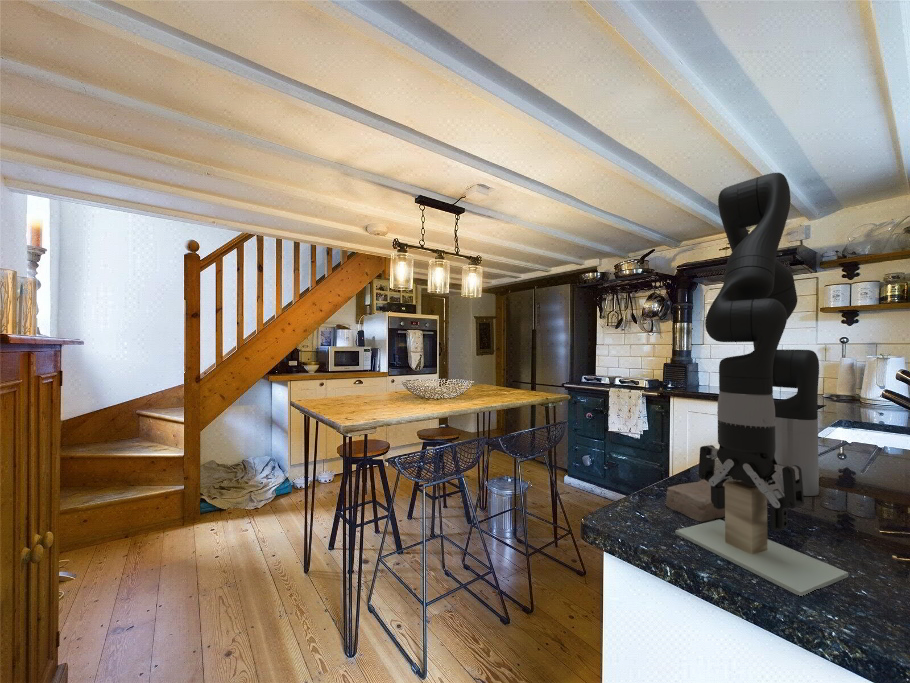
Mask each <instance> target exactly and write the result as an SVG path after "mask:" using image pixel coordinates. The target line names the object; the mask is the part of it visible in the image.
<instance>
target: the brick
mask: <svg viewBox="0 0 910 683" xmlns="http://www.w3.org/2000/svg"><path fill="white" fill-rule="evenodd" d="M726 482H730V481H729V480H727V481H726ZM723 486H725V483H724V484H723ZM666 489H667V491H666V496H665V498H666V500H665V505H666V507H667V508H669V509H671V510H673V511H675V512H678V513H680V514H682V515H685V516H687V517H688V518H690V519H692V520H695V521H697V522H699V523H706V522H711V521H714V520H715V519H721V518H725V508H723V509H717V508H714V506H713V504H712V502H711V485H710V484H709V482H707V481H706V480H705V479H700V480H699V481H697V482H695V481H694V482H688V483H681V484H680V483H679V484H677V485H672V486H668V487H667V488H666Z"/></svg>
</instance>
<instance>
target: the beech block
mask: <svg viewBox="0 0 910 683" xmlns="http://www.w3.org/2000/svg"><path fill="white" fill-rule="evenodd" d="M724 519H725V520H724V521H725V543H728V544H730V545H732V546H734V547H736V548H738V549H740V550H743V551H745V552H747V553H749V554H751V555H753V554H756V553H759V552H763V551H766V550H768V549H767V539H768V499H767V497H766V496H765V494H763V493H762V492H760V490H759V489H758V487H757V486H756V485H751V484H747V483H746V482H744V481H740V480H732V481H730V482H725V517H724Z"/></svg>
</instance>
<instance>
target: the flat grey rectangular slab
mask: <svg viewBox="0 0 910 683" xmlns="http://www.w3.org/2000/svg"><path fill="white" fill-rule="evenodd" d="M675 535H677V536H679V537H681V538H683V539H685V540H687V541H688V542H691V543H693V544H695V545H697V546H699V547H701V548H703V549H705V550H706V551H708V552H709V551H710V552H711V553H713V554H714V555H717V556H719V557H721V558H723V559H725V560H727V561H729V562H731V563H733V564H735V565H736V566H739V567H741V568H742V569H744V570H747V571H748V572H751V573H753V574H755V575H757V576H759V577H760V578H762V579H765V580H767V581H769V582H770V583H772V584H774V585H776V586H779V587H780V588H782V589H785V590H786V591H789V592H790V593H793V594H795V595H796V596H798V595H799V597H800V596H802V597H804V596H807V595H808V593H809V594H811V593H810V592H812V591H814V590H816V589H819V590H820V588H821V589H823V588H826V587H827V586H830V585H833V584H835V583H837V582H840V581H842V580H845V579H846V578H849V572H848V571H845V570H843V569H840V568H839V567H838V568H837V567H836V566H833V565H831V564H828V563H826V562H824V561H822V560H819V559H817V558H814V557H812V556H809V555H807V554H804V553H802V552H799V551H797V550H794V549H793V548H791V547H788V546H785V545H783V544H780V543H778V542H775V541H773V540H772V539H768V538H767V549H768V550H766V551H763V552H759V553H756V554H753V555H751V554H749V553H747V552H745V551H743V550H740V549H738V548H736V547H734V546H732V545H730V544H728V543H725V520H722V519H721V518H717V519H716V520H715V519H714V520H710V521H706V522H702V523H700V524H696V525H691V526H687V527H684V528H680V529H676V530H675ZM816 591H817V590H816ZM814 592H815V591H814ZM812 593H813V592H812ZM806 594H807V595H806ZM803 595H804V596H803Z"/></svg>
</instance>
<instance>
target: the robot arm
mask: <svg viewBox="0 0 910 683" xmlns="http://www.w3.org/2000/svg"><path fill="white" fill-rule="evenodd" d="M787 179H788V178H787V177H786V175H784V174H783V173H781V172H770V173H766V174H764V175H760V176H757V177H754V178H751V179H750V178H749V179H747V180H744V181H742V182H741V181H740V182H739V183H735V184H732V185H729V186H726V187H725V188H723V189H722V190H720V192H719V194H718V199H717V205H718V212H719V215H720V217H719V218H720V219H721V223H722V227H723V229H724V232H725V235H726V238H727V240H728V241H727V242H728V244H729V247H730V250H731V253H730V254H729V257H728V259H727V262H726V265H725V273H724V279H723V283H722V286H721V289H720V290H719V292H718V294H717V295H716V297H715V299H714V300H713V302H712V303H711V305H710V306H709V308H708V310H707V313H706V317H705V319H704V320H705V322H704V325H705V330H706V333H707V334H708V335H709V337H710V338H711V339H712V340H714V341H716V342H718V343H719V342H720V343H752V345H753V350H752V351H751V352H749V353H745V354H741V355H734V356H728V357H724V358H722V359H720V362H719V364H718V390H719V392H718V399H717V412H716V413H717V444H718V446H719V447H718V448H716V447H715V445H712V444H710V445H709V444H708V445H707V444H706V445H703V446H700V448H699V460H698V477H699V479H700V480H704V479H705V480H706V481H707V482H709V484H710V485H711V502H712V504H713V506H714V508H717V509H723V508H725V486H723V484H724V483H725V482H726V481H729V479H732V480H733V481H735V480H740V481H744V482H746V483H747V484H751V485H756V486H757V487H758V489H759V490H760V492H762V493H763V494H765V496H766V497H767V501H769V503H770V504H771V505H770V506H769V513H770V515H769V521H770V522H769V528H770V530H771V531H774V532H776V533H778V532H781V531H783V530H785V529H787V528H788V526H789V513H788V512H789V509H796V508H799V507H803V506H805V497H809V496H810V497H815V496H816V497H817V496H818V495H819V494H820V490H819V487H820V486H819V485H820V484H819V483H820V482H819V471H820V470H819V422H818V421H819V420H818V419H819V418H818V417H819V413H818V412H819V411H818V409H819V407H818V406H819V404H818V403H819V401H818V400H819V398H818V395H819V394H818V393H819V392H818V391H819V378H820V376H819V375H820V362H819V360H820V359H819V358H818V355H817V353H816V352H815V351H814V350H811V349H778V347H779V344H780V342H781V339H782V337H783V333H784V332H785V329H786V325H787V322H788V320H789V318H790V317H791V316H792V314H793V312H794V311H795V310H796V308H797V304H798V295H797V288H796V283H795V278H794V276H793V273H792V271H790V269H789V268H788V267H787V266H785V264H783V263H782V262H781V261H779V260H778V259H777V253H778V250H779V246H780V243H781V239H782V238H783V233H784V230H785V228H786V223H787V221H788V220H787V219H788V216H789V212H790V208H791V190H790V189H791V188H790V185H789V182H788V180H787ZM753 226H755V227H754V228H753V229H752V230H751V231H750V232H749V231H748V229H747V228H748V227H753ZM774 387H775V388H783V389H784V388H786V389H797V391H796V394H794V395H792V396H790V397H788V398H784V399H781V400H780V399H779V400H774V395H773V394H774V393H773V392H774V390H773V389H774ZM716 459H718V460H719V461H720V463H721V466H720V467H719V468H718V469H717V470H716V471H715V466H716V465H715V464H716V463H715V462H716ZM804 496H805V497H804Z"/></svg>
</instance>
